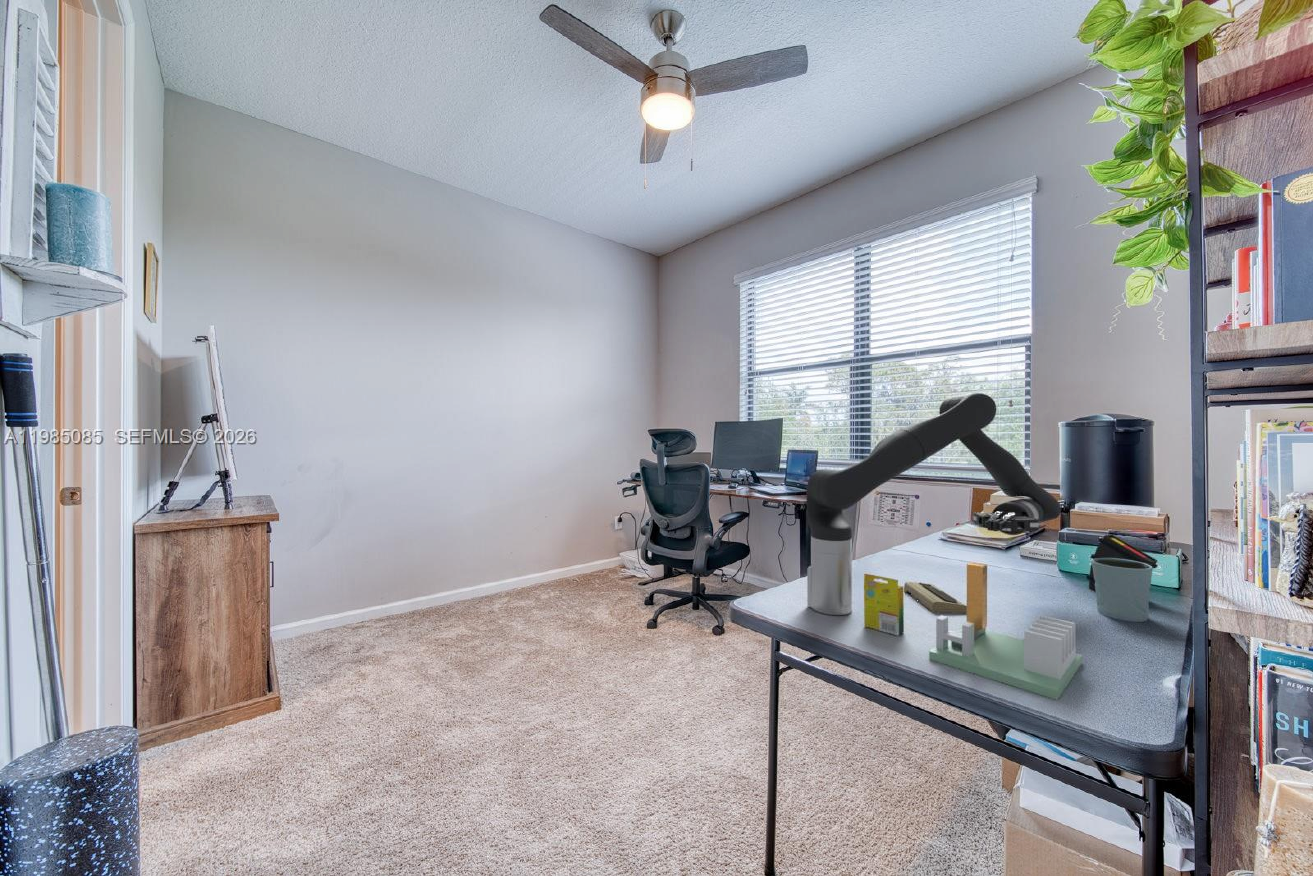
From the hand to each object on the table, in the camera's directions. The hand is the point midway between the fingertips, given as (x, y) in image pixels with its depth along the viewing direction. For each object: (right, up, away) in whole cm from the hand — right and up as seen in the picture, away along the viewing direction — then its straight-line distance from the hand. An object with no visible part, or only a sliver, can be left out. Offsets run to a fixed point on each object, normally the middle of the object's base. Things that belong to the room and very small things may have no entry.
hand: (992, 526), depth 108 cm
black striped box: (+47, -22, +21) cm, 56 cm away
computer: (-3, -22, +17) cm, 29 cm away
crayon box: (-23, -22, 0) cm, 32 cm away
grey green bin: (+35, -22, +8) cm, 42 cm away
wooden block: (-11, -21, -9) cm, 25 cm away
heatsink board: (-8, -22, -15) cm, 28 cm away
